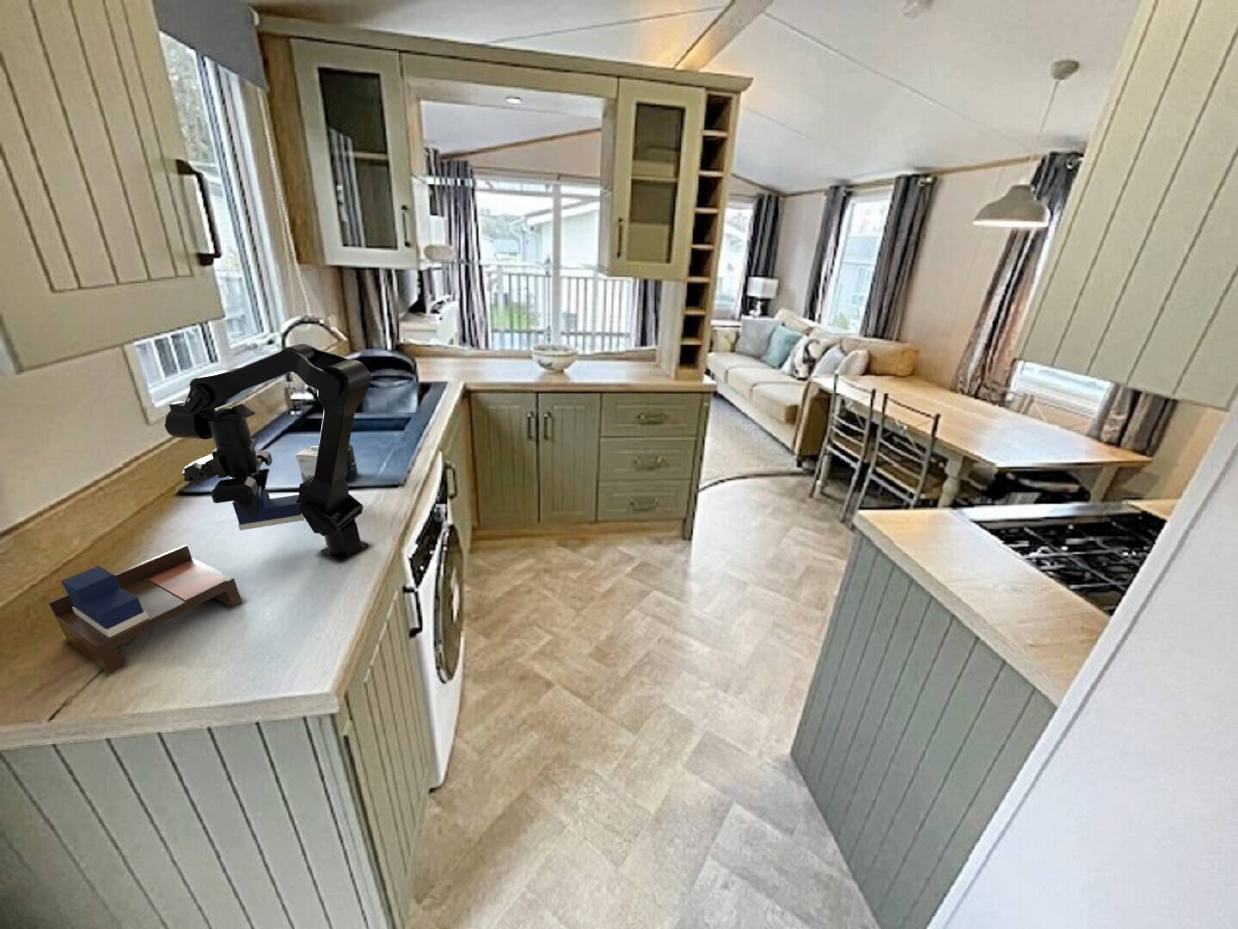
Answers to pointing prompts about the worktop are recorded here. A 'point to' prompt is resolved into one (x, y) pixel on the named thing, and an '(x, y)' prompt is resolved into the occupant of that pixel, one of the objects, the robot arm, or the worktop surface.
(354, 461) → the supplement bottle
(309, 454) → the syrup box
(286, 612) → the worktop surface
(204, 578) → the shoe rack
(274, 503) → the trainer
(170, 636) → the worktop surface
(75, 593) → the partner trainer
